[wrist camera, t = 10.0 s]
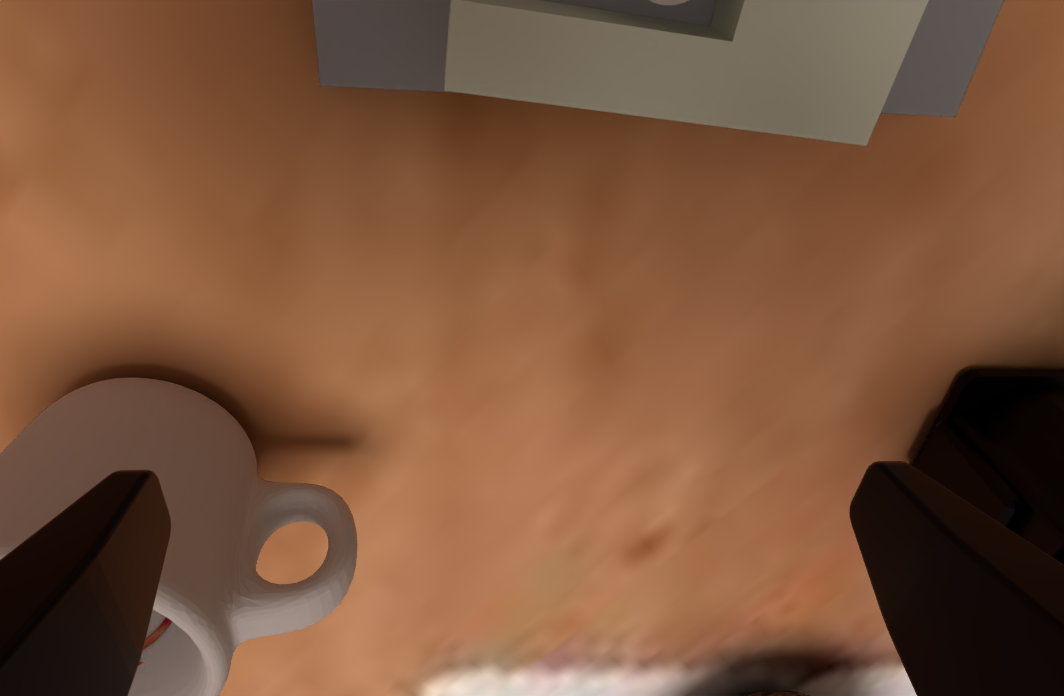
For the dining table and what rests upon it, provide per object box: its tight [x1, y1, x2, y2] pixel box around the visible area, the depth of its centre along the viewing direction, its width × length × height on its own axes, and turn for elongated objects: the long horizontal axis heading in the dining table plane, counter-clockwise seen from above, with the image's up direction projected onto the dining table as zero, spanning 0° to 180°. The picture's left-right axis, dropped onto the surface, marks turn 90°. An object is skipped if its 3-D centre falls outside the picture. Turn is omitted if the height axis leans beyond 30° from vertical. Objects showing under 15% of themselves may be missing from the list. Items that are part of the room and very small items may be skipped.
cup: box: [0, 378, 357, 696], centre depth 20 cm, size 11×8×8 cm
